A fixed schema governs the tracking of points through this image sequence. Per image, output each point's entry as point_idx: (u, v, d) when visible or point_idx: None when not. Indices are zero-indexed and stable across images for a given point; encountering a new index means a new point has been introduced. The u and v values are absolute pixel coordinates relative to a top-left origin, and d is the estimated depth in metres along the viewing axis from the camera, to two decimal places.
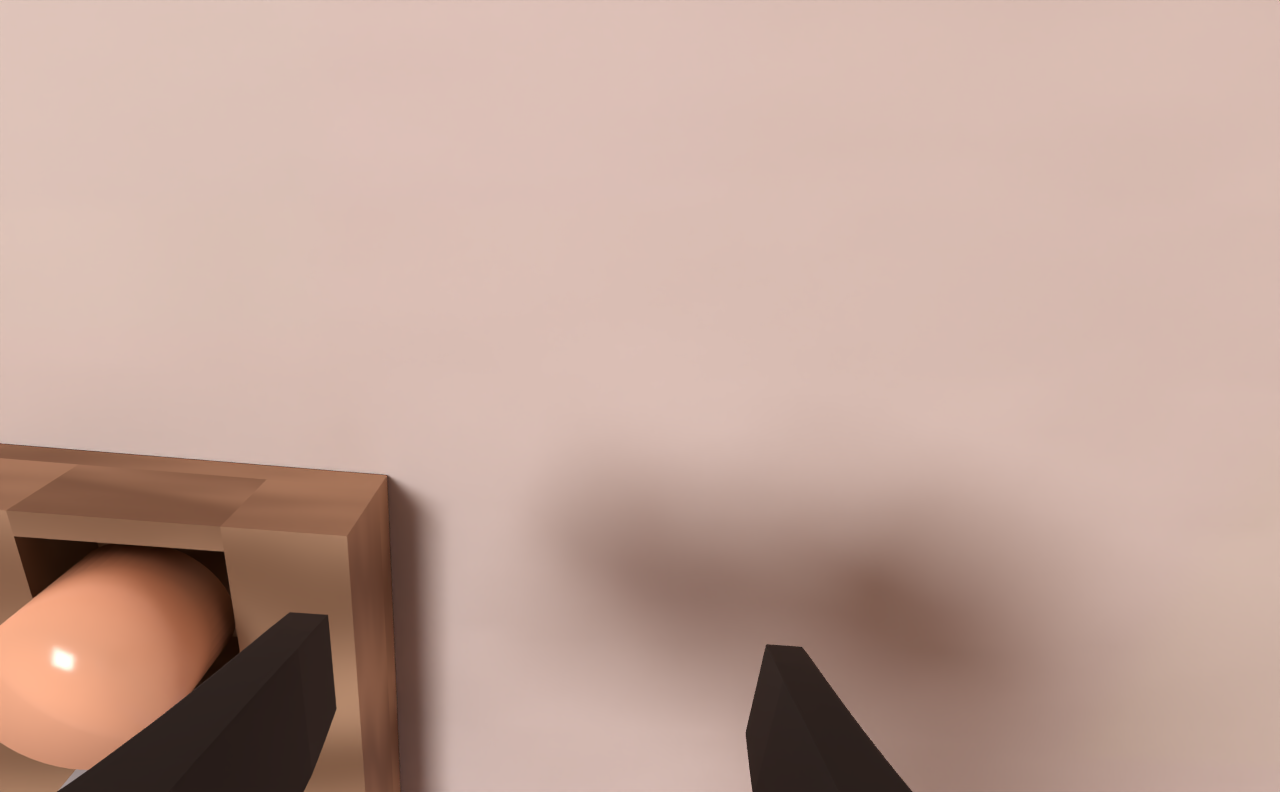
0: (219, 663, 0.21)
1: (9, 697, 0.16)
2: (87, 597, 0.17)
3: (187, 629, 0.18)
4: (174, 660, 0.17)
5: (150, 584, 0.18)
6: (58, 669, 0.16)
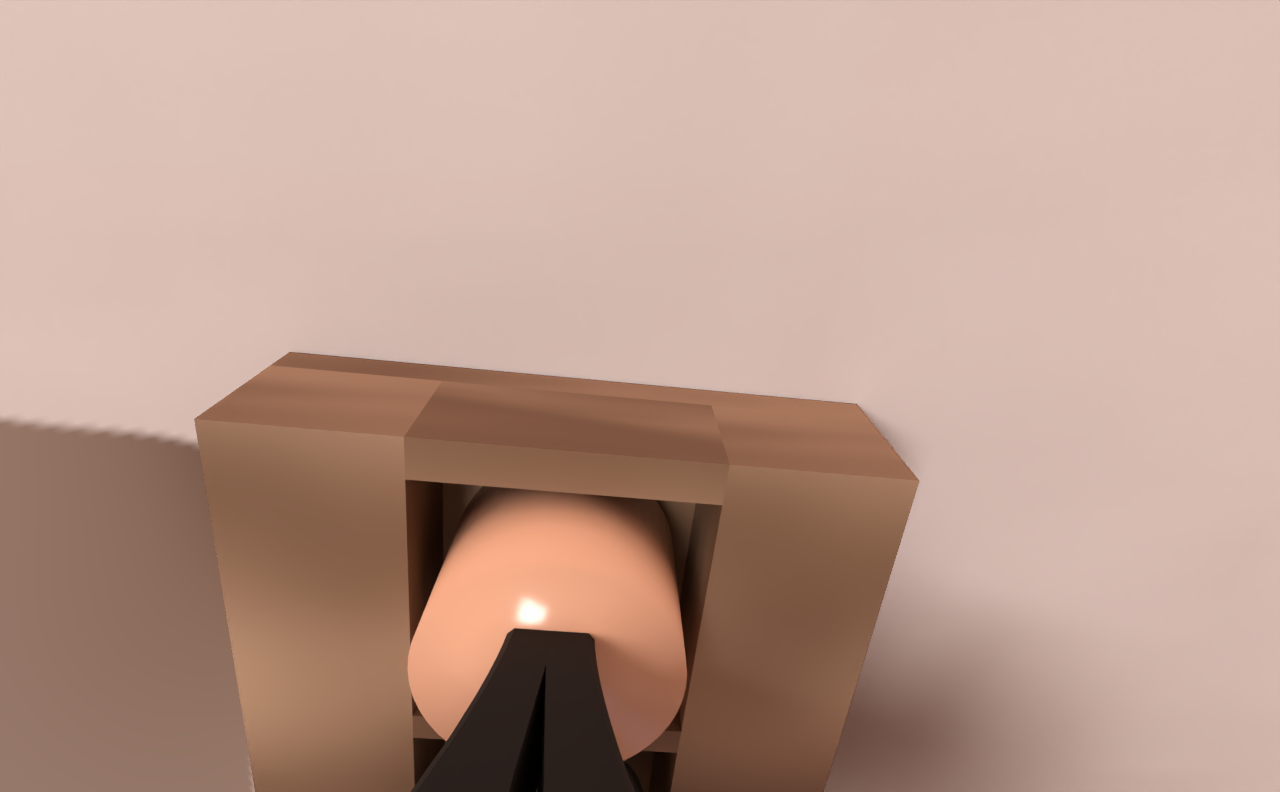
0: None
1: (476, 669, 0.11)
2: (577, 523, 0.11)
3: (674, 577, 0.12)
4: (680, 618, 0.12)
5: (626, 511, 0.12)
6: (564, 626, 0.11)
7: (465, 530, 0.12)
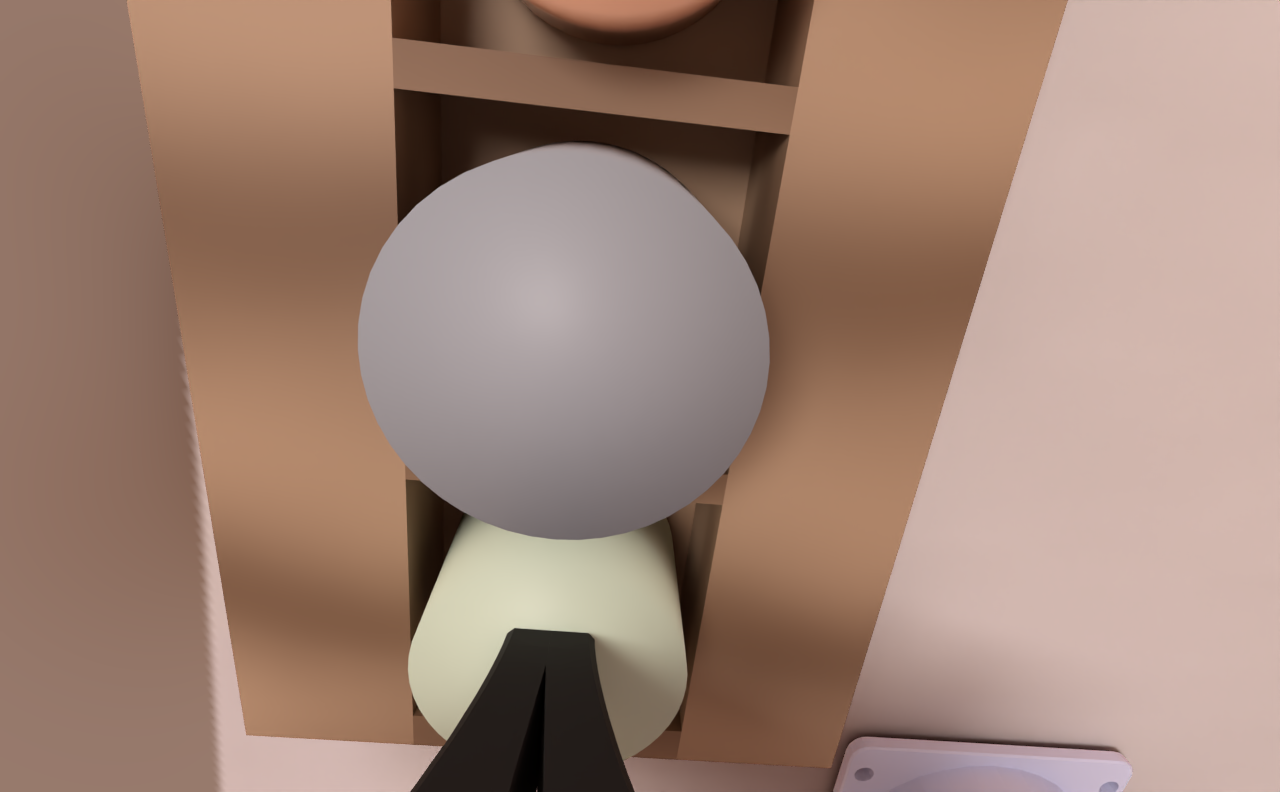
0: None
1: None
2: None
3: None
4: None
5: None
6: None
7: None
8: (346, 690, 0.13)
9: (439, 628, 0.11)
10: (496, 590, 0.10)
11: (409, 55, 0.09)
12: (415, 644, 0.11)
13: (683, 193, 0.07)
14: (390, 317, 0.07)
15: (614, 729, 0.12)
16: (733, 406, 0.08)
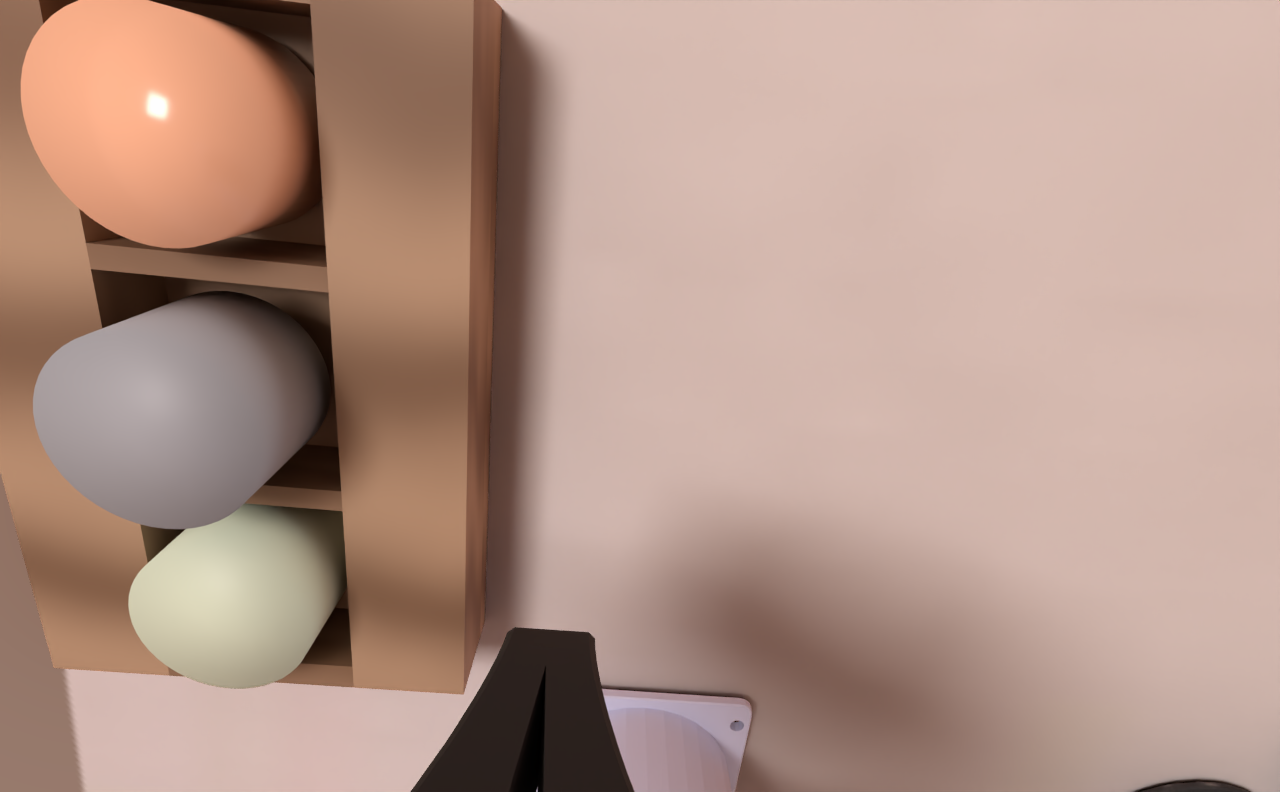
0: (286, 250, 0.17)
1: (83, 117, 0.13)
2: (179, 9, 0.13)
3: (293, 96, 0.14)
4: (282, 109, 0.14)
5: (250, 36, 0.14)
6: (147, 68, 0.13)
7: None
8: (117, 636, 0.19)
9: (144, 587, 0.17)
10: (175, 563, 0.17)
11: (97, 251, 0.15)
12: (131, 598, 0.17)
13: (190, 348, 0.13)
14: (49, 409, 0.14)
15: (271, 656, 0.18)
16: (247, 455, 0.14)
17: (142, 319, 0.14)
